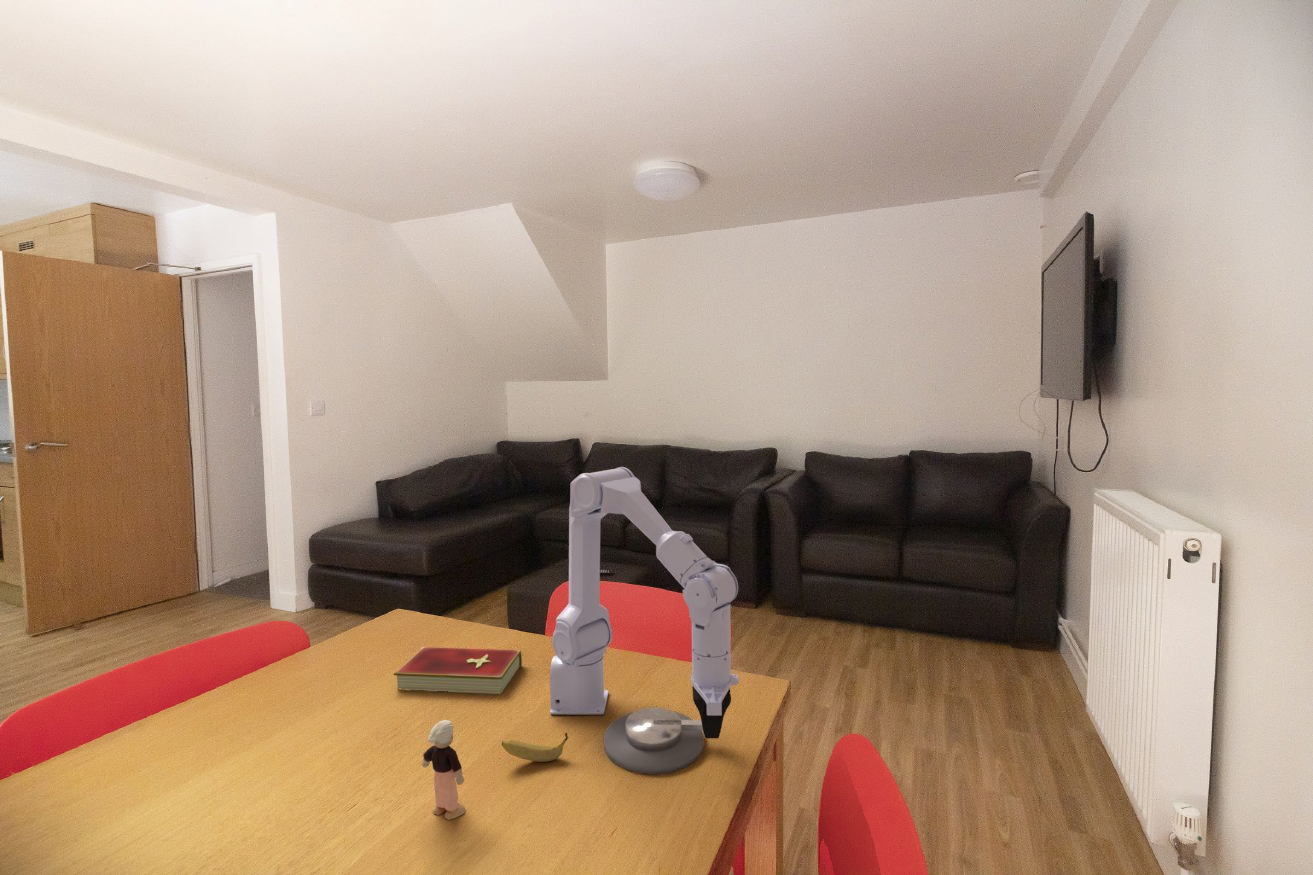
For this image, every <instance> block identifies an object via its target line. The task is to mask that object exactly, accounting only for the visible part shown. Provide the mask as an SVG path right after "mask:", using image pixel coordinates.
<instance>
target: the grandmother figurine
mask: <svg viewBox="0 0 1313 875" xmlns="http://www.w3.org/2000/svg"><path fill="white" fill-rule="evenodd" d="M453 741H454V725H453V723H452V721H450V720H448V719H443V720H440V721H439V722H437V723H435V725H433V727H432V729H431V730H430V732H429V735H428V737H427V742H428V743H430V744H434V745H432V746H430V747H429V748H428V749H427V750H426V751H425V752H424V753H423V755H422V757H423V759H422V763H421V766H422V768H428V767H429V766H430V763H431V764H432V769H433V771H434V777H433V778H434V785H433V786H434V796H435V799H434V800H435V805H434V806H435V807H434V808H433V809H432V813H433V814H434V815H436V816H437V815H438V816H439V815H442V814H443V813H445V814H444V818H445V819H446V820H451V821H452V820H453V819H456V818H458V817H460V816H462V815H463V814H465V812H466V807H465V805H463V804H462V803H459V802H458V799H459V794H458V789H457V785H459V786H460V785H463V784H464V782H465V778H464V776H463V774H464V773H463V770H462V768H463V767H462V764H461V762H460V760H459V757H458V754H457V750H455V749H454V748H452V747H451V744H452V742H453Z"/></svg>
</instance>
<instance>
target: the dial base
mask: <svg viewBox="0 0 1313 875" xmlns="http://www.w3.org/2000/svg"><path fill="white" fill-rule="evenodd" d="M674 712H675V713H676V714H677V715H678V716H679V717H680V718H681V720H693V719H692V718H691V717H689V716H688V715H685V714H682V713H680V712H677V711H674ZM632 713H633V712H630V713H627V714H625V715H622V716H620V717H619V718H617V719H616V720H614V721H613V722H611V723H610V724H609V725H608V726H607V728H606V730H605V732H604V735H603V748H604V749H603V750H604V752H605V755H606V756H607V758H608V759H609V760H610V761H611V762H612V763H613V764H615V765H616V766H618V767H620V768H622V769H624V770H626V771H629V772H634V773H637V774H645V775H659V774H661V775H662V774H668V773H673V772H676V771H680V770H682V769H685V768H686V767H688V766H690V765H691V764H693V763H694V762H695V761H696V760H697V759H698V758H699V757H700V755H701V754H702V752H703V749H704V732H703V731H682V735H681V739H680V740H679V741H678V742H677V743H676V744H675V745H673V746H672V747H669V748H666V749H663V750H653V751H652V750H643V749H639V748H637V747H635V746H633V745H631V744H630V743H629V742H628V741H627V739H626V725H625V723H626V719H627V718H628V716H629V715H630V714H632Z"/></svg>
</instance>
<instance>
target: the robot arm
mask: <svg viewBox="0 0 1313 875" xmlns="http://www.w3.org/2000/svg"><path fill="white" fill-rule="evenodd" d="M569 485H570V492H569V493H570V499H569V500H570V503H569V508H568V512H569V513H568V518H569V519H568V523H569V524H568V544H569V545H568V604H567V605H566V607H564V609H563V610H562V611H561V612H560V613H559V615H557V617H556V619H555V629H554V631H553V634H552V641H551V643H552V648H553V651H554V653H555V655H553V656H552V659H551V663H550V672H549V689H550V691H549V692H550V711H549V712H550V714H551V715H604V713H605V711H606V706H607V702H608V697H609V690H608V689H605V679H604V678H605V677H604V674H605V672H604V655H605V654H606V653H607V647H608V646H609V645H610V644H611V642H612V639H613V629H612V626H611V622H610V613H609V612H610V611H609V610H608V609H607V608H606V607H605V606H603V604H600V593H601V592H600V591H601V590H600V588H601V587H600V586H601V585H600V582H601V576H600V575H601V571H600V570H601V520H602V519H603V518H604V517H605V516H607V515H608V514H614V515H624V516H625V517H626V518H627V519H628V520H629V521H630V522H631V523H632V524H633V525H634V526H636V528H637V529H639V530H640V531H641V532H642V533H643V534H644V535H645V536H646V537H647V538H648V539H649V540H650V541H651V542H652V543H653V544H654V545H655V547H656V548H655V550H656V551H655V554H656V555H655V556H656V558H657V560H658V561H660V563H661V564H662V565H663V566H664V568H665V569H667V571H668V572H669V573H670V574H671V575H672V576H673V577H674V579H675V580H676V581H677V583H679V584H680V585H681V587H682V588H683V589H682V597H683V599H684V602H685V604H686V606H687V608H688V611H689V619H690V621H691V675H690V684H691V686H692V687H691V688H692V700H693V703H694V706H695V707H696V708H697V711H698V712H699V716H700V720H701V722H702V727H703V731H702V732H703V737H704V738H705V739H719V738H720V735H721V731H722V727H723V722H724V717H725V715H726V711H727V709H728V708H729V707H730V705H731V702H732V695H731V686H737V685H739V682H740V680H739V675H738V674H737V673H731V670H732V669H731V664H732V663H731V662H732V658H731V642H732V641H731V637H732V636H731V633H732V632H731V629H732V628H731V602H732V601H734V600H735V599H736V598H737V595H738V592H739V584H738V580H737V577H736V575H735V574H734V572H733V571H732V570H731V568H730V566H728V565H725V564H723V563H722V564H721V563H717V562H716V561H715V560H712V558H709V557H708V556H707V555H706V554H705V553H704V551H702V549H700V548H699V546H698V545H697V544H696V542H694V539H693V537H692V536H691V535H690V533H686V532H684V531H682V530H681V531H679V530H678V531H677V530H673V529H672V528H671V527H670V526H669V524H668V523H667V522H666V521H665V519H664V518H663V516H662V515H661V514H660V513H659V512H658V511H657V509H656V507H654V505H653V504H652V503H651V502H650V500H649V499H648V498H647V496H646V495H645V493H644V492H642V485H641V480H640V479H638V477H636V476H635V475H634V473H633V472H632V470H630V469H629V468H627V467H624V466H619V467H616V468H614V469H613V468H611V469H606V470H601V471H600V470H599V471H594V472H590V473H589V472H585V473H584V472H583V473H581V474H579V475H578V476H577V477H575V478H574V479H573V480H572V481H571V482H570V484H569Z"/></svg>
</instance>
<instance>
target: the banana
mask: <svg viewBox="0 0 1313 875" xmlns="http://www.w3.org/2000/svg"><path fill="white" fill-rule="evenodd" d="M564 736H565V738H564V739H563V740H562V741H561V743H559V744H554V745H544V744H542V745H541V744H533V743H528V742H524V741H520V740H515V739H509V740H502V742H501V747H502V748H503V749H504V751H506V753H508V754H509V755H511V756H513V757H516V758H518V759H519V758H520V759H521V760H526V761H531V762H540V763H541V762H542V763H545V762H551V761H554V760H557V759H558V758H560V756H561V755H562V754H563V751H564V750H563V748H564V745H565V744H566V742H567V741H568V739H569V736H568V732H564Z"/></svg>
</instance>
